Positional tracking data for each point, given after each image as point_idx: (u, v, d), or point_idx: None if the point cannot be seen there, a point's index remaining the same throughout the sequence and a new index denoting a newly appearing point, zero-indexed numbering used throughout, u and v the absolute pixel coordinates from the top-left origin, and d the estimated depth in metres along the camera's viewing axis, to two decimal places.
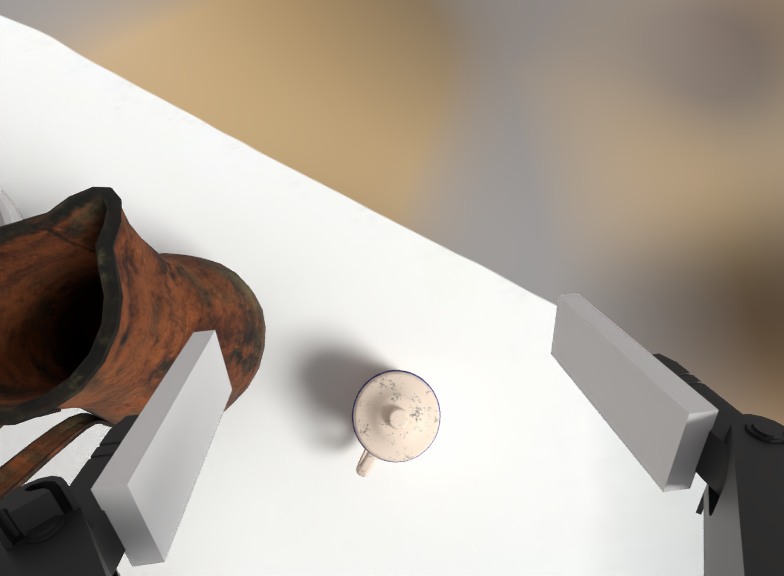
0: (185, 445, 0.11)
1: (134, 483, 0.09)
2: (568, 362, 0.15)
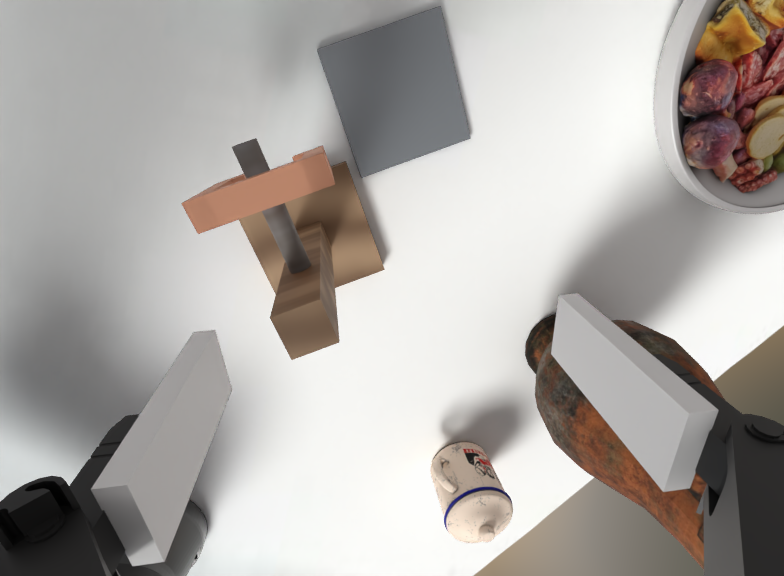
0: (185, 445, 0.11)
1: (134, 483, 0.09)
2: (568, 362, 0.15)
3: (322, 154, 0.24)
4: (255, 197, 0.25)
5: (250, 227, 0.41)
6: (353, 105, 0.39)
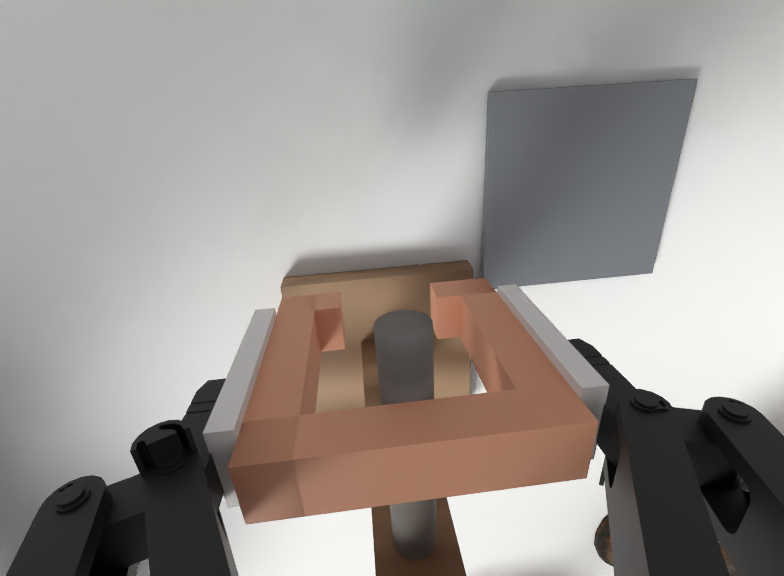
0: None
1: (237, 430, 0.10)
2: None
3: (594, 424, 0.10)
4: (406, 479, 0.10)
5: None
6: (512, 188, 0.24)
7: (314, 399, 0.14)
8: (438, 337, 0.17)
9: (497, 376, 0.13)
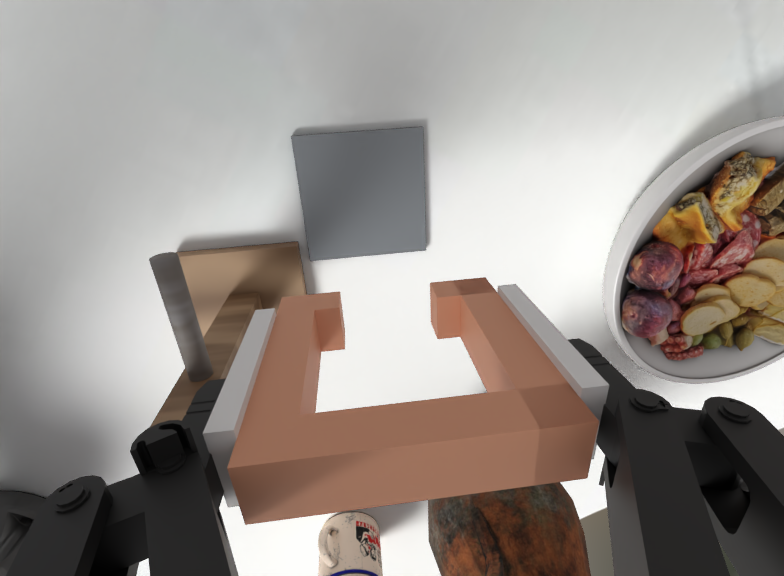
0: None
1: (237, 430, 0.10)
2: None
3: (595, 424, 0.10)
4: (406, 478, 0.10)
5: (185, 282, 0.40)
6: (316, 194, 0.39)
7: (314, 399, 0.14)
8: (438, 337, 0.17)
9: (497, 376, 0.13)
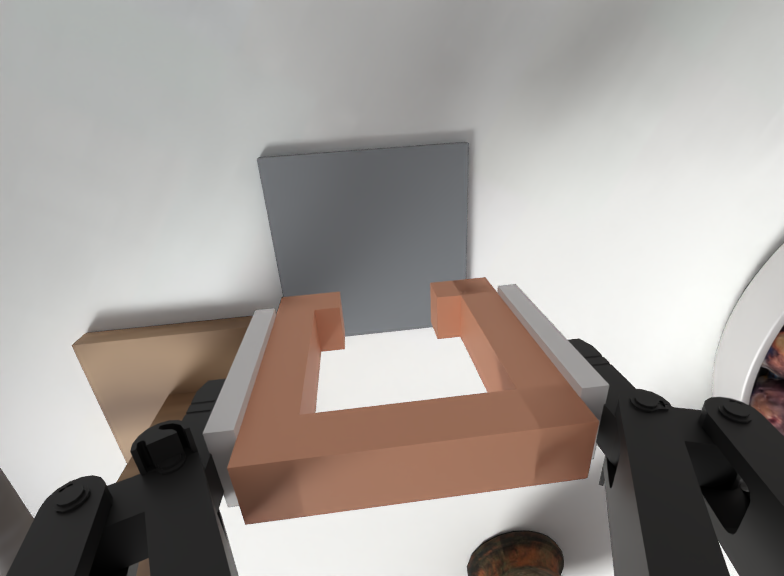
0: None
1: (237, 430, 0.10)
2: None
3: (595, 424, 0.10)
4: (406, 479, 0.10)
5: (99, 380, 0.26)
6: (299, 247, 0.25)
7: (314, 399, 0.14)
8: (438, 337, 0.17)
9: (497, 376, 0.13)
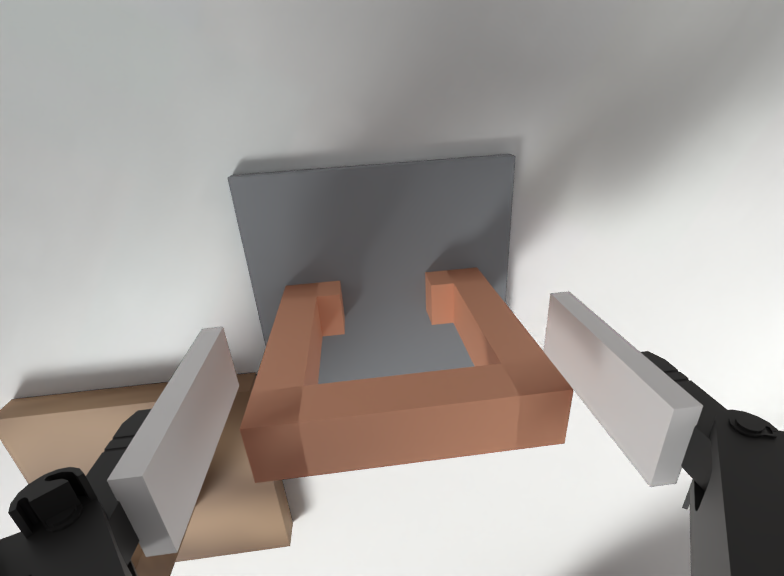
0: (196, 439, 0.12)
1: (149, 475, 0.09)
2: (559, 359, 0.15)
3: (569, 392, 0.11)
4: (400, 442, 0.11)
5: (30, 461, 0.20)
6: None
7: (316, 377, 0.15)
8: (432, 323, 0.18)
9: (485, 354, 0.14)
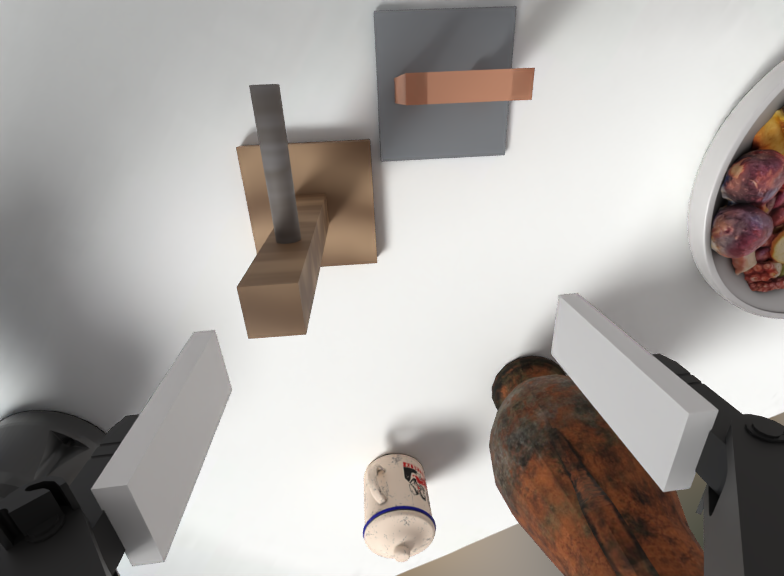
0: (185, 445, 0.11)
1: (134, 483, 0.09)
2: (568, 361, 0.15)
3: (533, 69, 0.28)
4: (464, 89, 0.28)
5: (249, 178, 0.37)
6: None
7: None
8: None
9: None
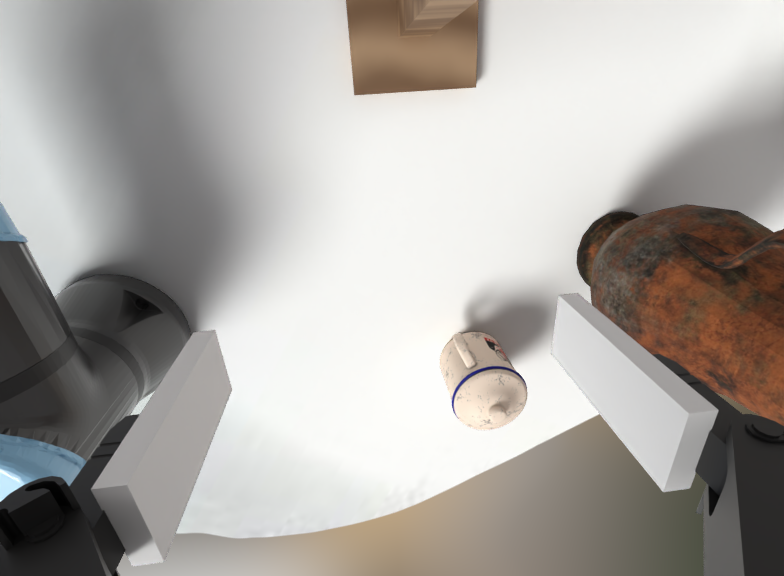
0: (185, 445, 0.11)
1: (134, 483, 0.09)
2: (568, 362, 0.15)
3: None
4: None
5: None
6: None
7: None
8: None
9: None
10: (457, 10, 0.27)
